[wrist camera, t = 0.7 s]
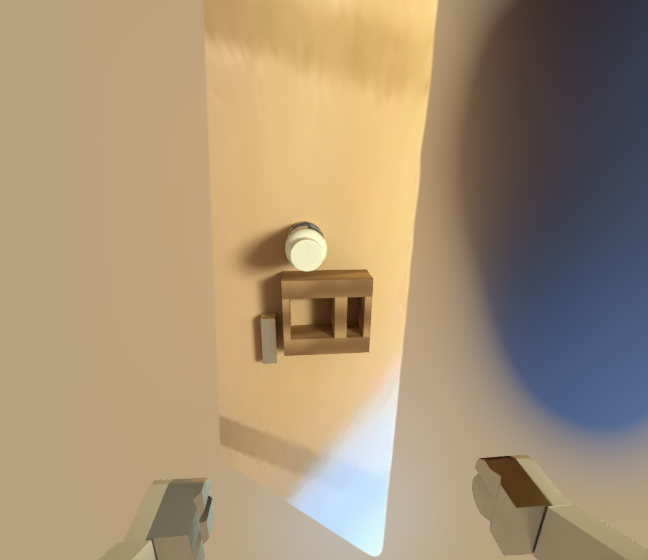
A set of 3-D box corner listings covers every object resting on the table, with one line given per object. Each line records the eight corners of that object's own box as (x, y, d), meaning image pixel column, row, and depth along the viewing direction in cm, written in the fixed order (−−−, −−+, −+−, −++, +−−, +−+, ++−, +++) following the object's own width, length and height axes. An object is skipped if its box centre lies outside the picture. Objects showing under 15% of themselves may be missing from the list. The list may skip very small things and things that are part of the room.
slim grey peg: (261, 312, 51) (260, 319, 49) (275, 312, 51) (275, 318, 49) (264, 355, 54) (263, 363, 52) (277, 355, 54) (276, 363, 52)
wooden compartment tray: (282, 271, 49) (281, 281, 44) (366, 269, 50) (373, 279, 45) (285, 340, 53) (284, 355, 48) (363, 337, 54) (368, 352, 49)
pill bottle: (328, 246, 48) (336, 265, 39) (296, 262, 48) (296, 284, 39) (313, 214, 46) (317, 225, 37) (280, 230, 47) (276, 245, 37)
